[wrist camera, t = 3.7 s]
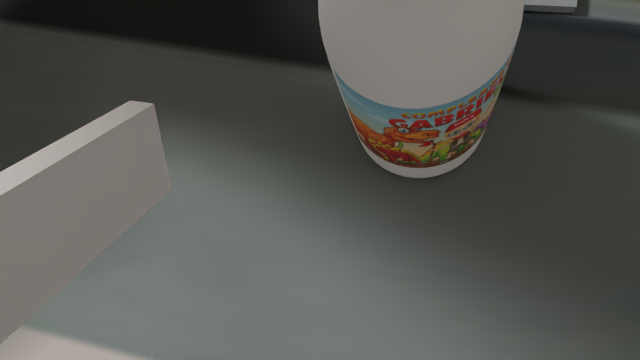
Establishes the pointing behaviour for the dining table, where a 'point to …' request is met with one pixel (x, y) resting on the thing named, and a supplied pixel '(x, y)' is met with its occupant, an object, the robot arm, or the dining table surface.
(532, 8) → the grey square tray
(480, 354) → the dining table surface
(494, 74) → the milk bottle
